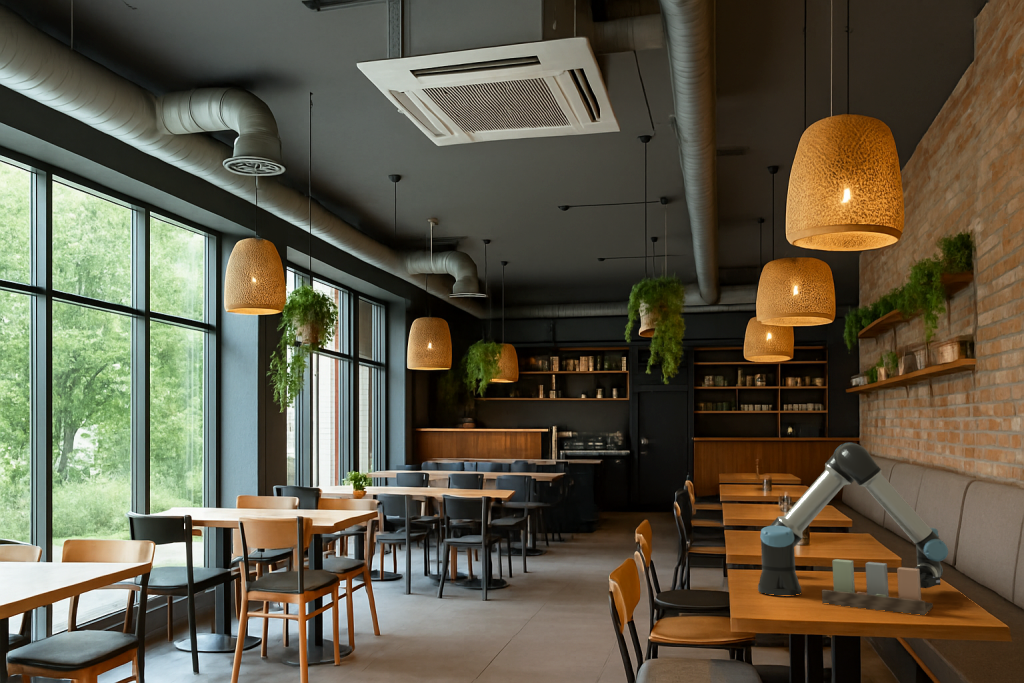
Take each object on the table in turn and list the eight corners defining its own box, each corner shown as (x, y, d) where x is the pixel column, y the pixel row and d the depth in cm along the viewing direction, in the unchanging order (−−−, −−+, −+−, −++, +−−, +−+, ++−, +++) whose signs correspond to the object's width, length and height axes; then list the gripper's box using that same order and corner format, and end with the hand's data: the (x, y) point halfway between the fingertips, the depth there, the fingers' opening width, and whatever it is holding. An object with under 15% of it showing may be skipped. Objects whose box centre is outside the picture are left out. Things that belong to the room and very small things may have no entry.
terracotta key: (899, 606, 267) (897, 569, 269) (901, 603, 271) (899, 567, 272) (919, 608, 264) (917, 570, 265) (921, 606, 267) (919, 568, 268)
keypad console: (822, 603, 280) (821, 588, 280) (833, 596, 291) (833, 581, 291) (924, 616, 261) (924, 599, 261) (932, 607, 272) (931, 592, 273)
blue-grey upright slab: (867, 599, 278) (865, 563, 279) (870, 597, 281) (868, 562, 282) (886, 601, 274) (884, 565, 275) (888, 599, 277) (886, 563, 279)
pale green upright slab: (834, 595, 284) (832, 560, 286) (837, 593, 288) (835, 559, 289) (852, 597, 281) (850, 562, 282) (855, 595, 284) (853, 560, 285)
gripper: (945, 588, 284) (933, 601, 265) (904, 584, 292) (890, 596, 273) (943, 566, 285) (931, 577, 266) (903, 563, 293) (889, 573, 274)
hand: (910, 587), depth 270 cm, fingers closed
